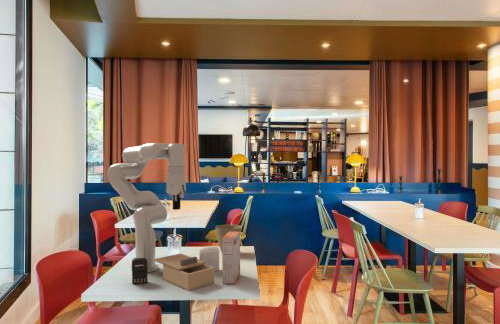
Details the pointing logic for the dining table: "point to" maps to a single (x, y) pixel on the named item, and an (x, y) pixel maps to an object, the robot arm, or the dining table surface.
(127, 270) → the dining table surface
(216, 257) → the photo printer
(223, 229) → the plant pot
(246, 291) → the dining table surface
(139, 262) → the battery charger
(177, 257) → the lid
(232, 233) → the cracker box
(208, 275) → the mailer box
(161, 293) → the dining table surface
